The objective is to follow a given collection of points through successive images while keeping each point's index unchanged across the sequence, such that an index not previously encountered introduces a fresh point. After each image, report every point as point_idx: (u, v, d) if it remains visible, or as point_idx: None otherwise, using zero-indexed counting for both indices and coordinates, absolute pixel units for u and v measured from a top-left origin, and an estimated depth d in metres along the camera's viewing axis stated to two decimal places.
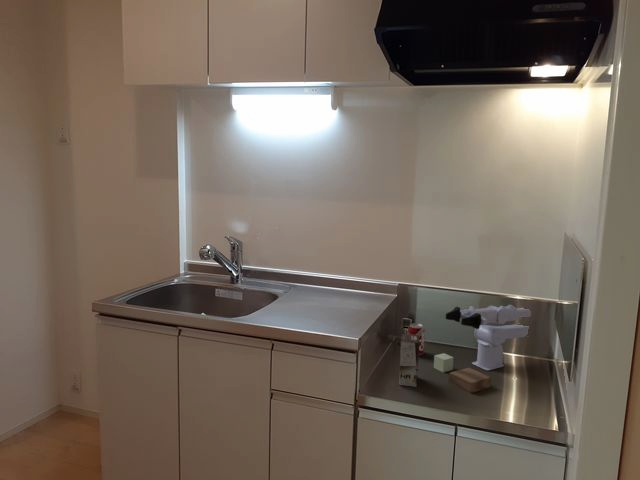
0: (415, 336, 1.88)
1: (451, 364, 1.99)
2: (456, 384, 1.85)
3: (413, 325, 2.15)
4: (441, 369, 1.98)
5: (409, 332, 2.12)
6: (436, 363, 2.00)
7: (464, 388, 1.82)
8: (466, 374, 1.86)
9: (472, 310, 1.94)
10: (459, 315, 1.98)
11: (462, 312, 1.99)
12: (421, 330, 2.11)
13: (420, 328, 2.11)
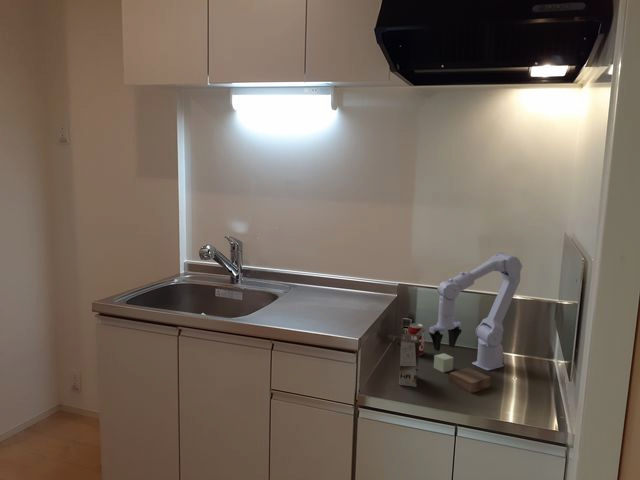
0: (415, 336, 1.88)
1: (451, 364, 1.99)
2: (456, 384, 1.85)
3: (413, 325, 2.15)
4: (441, 369, 1.98)
5: (409, 332, 2.12)
6: (436, 363, 2.00)
7: (464, 388, 1.82)
8: (466, 374, 1.86)
9: None
10: (452, 329, 2.00)
11: None
12: (421, 330, 2.11)
13: (420, 328, 2.11)
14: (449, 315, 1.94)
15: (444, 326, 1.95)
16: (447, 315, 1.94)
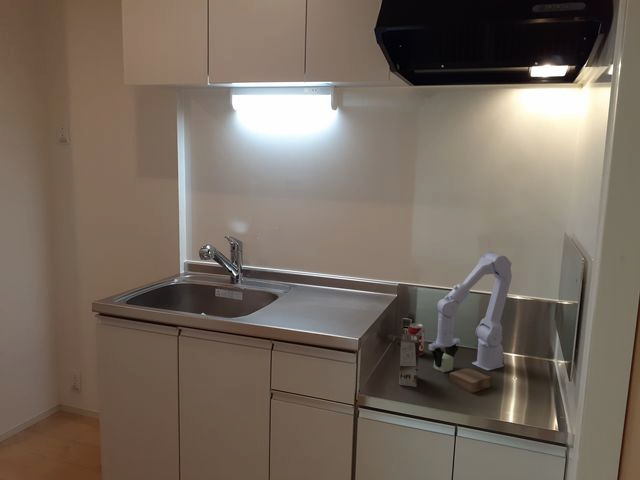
0: (415, 336, 1.88)
1: (451, 364, 1.99)
2: (456, 384, 1.85)
3: (413, 325, 2.15)
4: (441, 369, 1.98)
5: (409, 332, 2.12)
6: None
7: (465, 388, 1.82)
8: (466, 374, 1.86)
9: None
10: (449, 347, 2.00)
11: None
12: (421, 330, 2.11)
13: (420, 328, 2.11)
14: (448, 333, 1.95)
15: (443, 343, 1.96)
16: (446, 332, 1.95)
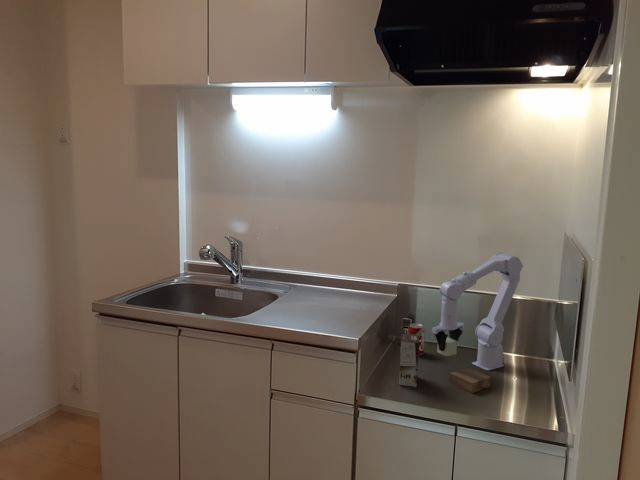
0: (415, 336, 1.88)
1: (455, 348, 1.96)
2: (457, 384, 1.85)
3: (413, 325, 2.15)
4: (444, 353, 1.95)
5: (409, 332, 2.12)
6: None
7: (465, 388, 1.82)
8: (466, 374, 1.86)
9: None
10: (453, 330, 1.98)
11: None
12: (421, 330, 2.11)
13: (420, 328, 2.11)
14: (452, 316, 1.93)
15: (447, 327, 1.93)
16: (450, 315, 1.93)
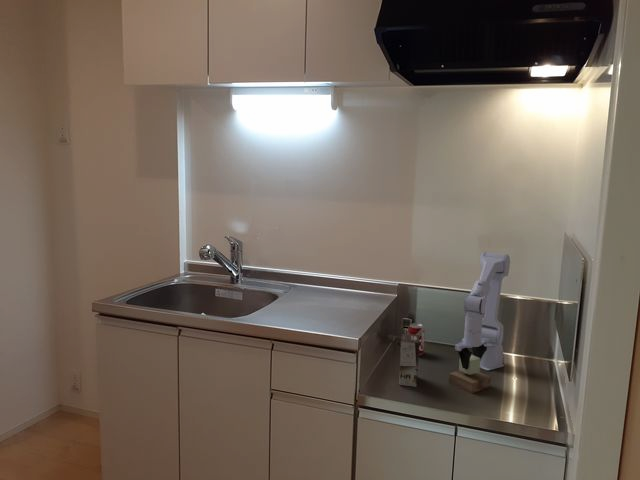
0: (415, 336, 1.88)
1: (478, 365, 1.85)
2: (457, 384, 1.85)
3: (413, 325, 2.15)
4: (467, 371, 1.84)
5: (409, 332, 2.12)
6: (461, 364, 1.86)
7: (465, 388, 1.82)
8: (466, 374, 1.86)
9: None
10: (477, 347, 1.86)
11: None
12: (421, 330, 2.11)
13: (420, 328, 2.11)
14: (477, 332, 1.81)
15: (471, 343, 1.81)
16: (474, 331, 1.81)
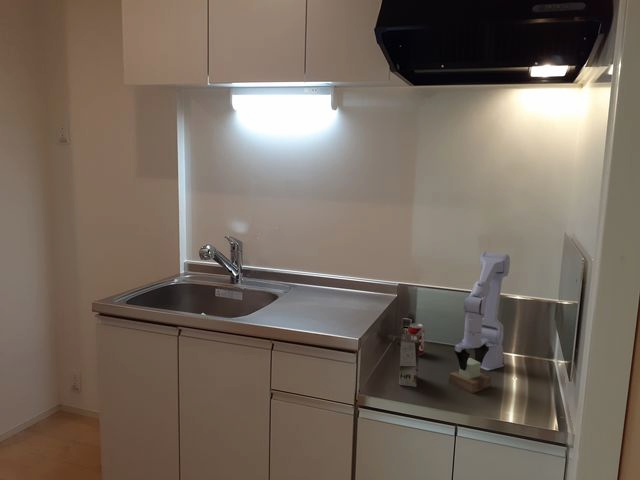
0: (415, 336, 1.88)
1: (478, 369, 1.85)
2: (457, 385, 1.85)
3: (413, 325, 2.15)
4: (467, 375, 1.84)
5: (409, 332, 2.12)
6: None
7: (465, 389, 1.82)
8: None
9: None
10: (479, 347, 1.86)
11: None
12: (421, 330, 2.11)
13: (420, 328, 2.11)
14: (477, 333, 1.81)
15: (471, 344, 1.82)
16: (474, 332, 1.81)
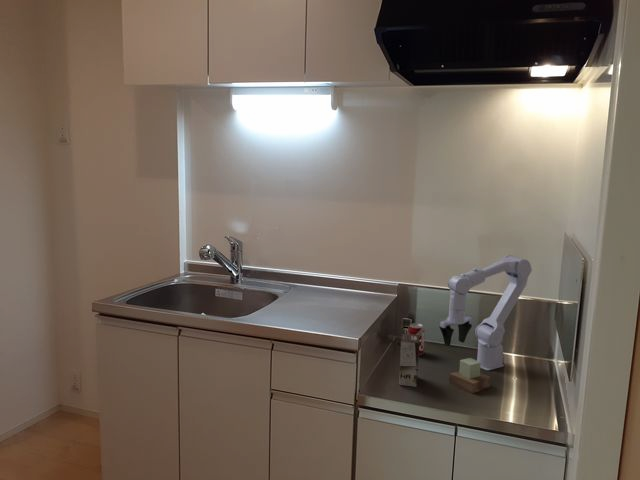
0: (415, 336, 1.88)
1: (478, 369, 1.85)
2: (457, 385, 1.85)
3: (413, 325, 2.15)
4: (467, 375, 1.84)
5: (409, 332, 2.12)
6: (461, 368, 1.86)
7: (466, 389, 1.82)
8: None
9: None
10: (463, 324, 1.99)
11: None
12: (421, 330, 2.11)
13: (420, 328, 2.11)
14: (460, 310, 1.93)
15: (455, 321, 1.94)
16: (458, 310, 1.93)
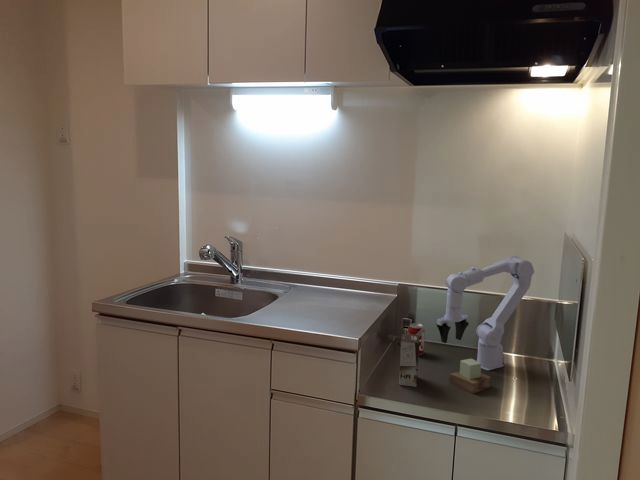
0: (415, 336, 1.88)
1: (478, 370, 1.84)
2: (457, 385, 1.84)
3: (413, 325, 2.15)
4: (467, 375, 1.83)
5: (409, 332, 2.12)
6: (462, 369, 1.86)
7: (466, 389, 1.82)
8: None
9: None
10: (460, 322, 2.02)
11: None
12: (421, 330, 2.11)
13: (420, 328, 2.11)
14: (457, 308, 1.96)
15: (452, 318, 1.97)
16: (455, 307, 1.96)
